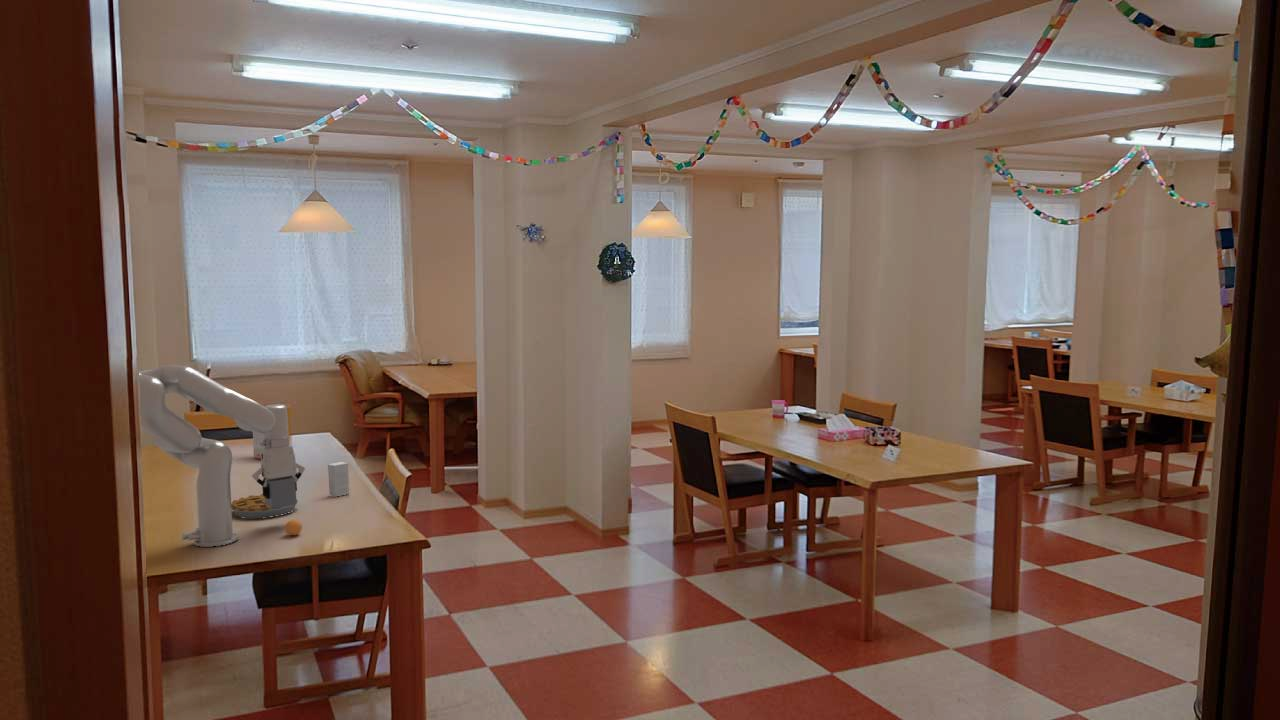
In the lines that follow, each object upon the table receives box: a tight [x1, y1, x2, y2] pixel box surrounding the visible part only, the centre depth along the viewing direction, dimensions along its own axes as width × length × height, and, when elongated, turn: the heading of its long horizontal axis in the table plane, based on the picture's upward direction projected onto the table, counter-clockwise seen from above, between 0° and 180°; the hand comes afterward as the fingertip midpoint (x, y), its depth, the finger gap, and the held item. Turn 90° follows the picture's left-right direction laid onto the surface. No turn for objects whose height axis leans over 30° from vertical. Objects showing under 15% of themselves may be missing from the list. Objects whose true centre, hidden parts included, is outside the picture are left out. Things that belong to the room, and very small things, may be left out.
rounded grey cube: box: [265, 477, 298, 509], centre depth 309 cm, size 8×8×9 cm
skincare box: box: [327, 461, 350, 498], centre depth 351 cm, size 6×4×12 cm
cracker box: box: [252, 432, 265, 460], centre depth 417 cm, size 14×6×21 cm, turn 58°
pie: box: [231, 493, 299, 519], centre depth 328 cm, size 22×22×5 cm
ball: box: [284, 519, 303, 536], centre depth 299 cm, size 5×5×5 cm
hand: (280, 495), depth 309 cm, fingers closed on rounded grey cube, 7 cm apart
